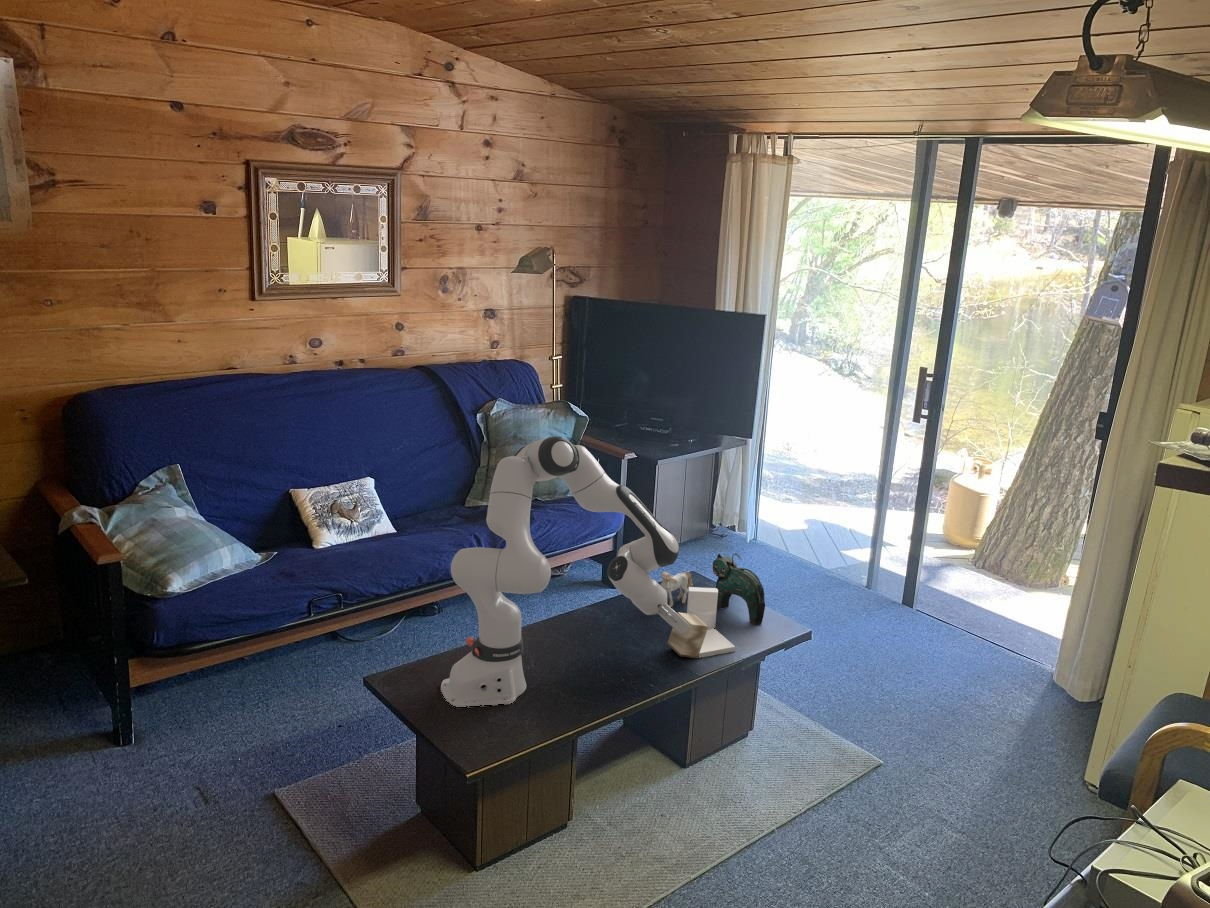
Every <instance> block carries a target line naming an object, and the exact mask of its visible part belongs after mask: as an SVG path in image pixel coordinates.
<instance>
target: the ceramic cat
mask: <svg viewBox="0 0 1210 908" xmlns="http://www.w3.org/2000/svg"><path fill="white" fill-rule="evenodd" d="M731 556H732V557H730V556H722V555H721V554H720V553H718V554H717V556H716V559H714V560H713V562H712V573H713V574H714V575H715V576H716V577H717V580H716V583H715V588H717V589H718V599H717V607H718V608H717V609H719V608H724V609H726V608H728V607H729V606H730V605H729V604H730V598H731V597H732V595H735V596H738V597H740V598H741V599H743V601H744V602H745V603H746V605H747V609H748V617H749V619H748V620H749V624H751V625H753V626H759V625H762V623H763V619H764V617H765V616H764V615H765V610H766V603H765V601H766V600H765V590H764V587H763V584H762V582H761V580H760V578H759V577H758V575H757V574H756V573H755V572H754V571H752V570H750V569H749V568H744V567H739V566H737V563H736V562H735V560H734V556H736V557H737V558H738V559H739V560H740V561H741V560H742V559H741V556H740V555H739V554H738V553H733V554H732V555H731ZM725 607H726V608H725Z"/></svg>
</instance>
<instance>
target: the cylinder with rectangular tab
mask: <svg viewBox="0 0 1210 908" xmlns="http://www.w3.org/2000/svg"><path fill="white" fill-rule="evenodd" d="M717 599H718V589H717V588H716V587H698V586H695V587H694V586H692V587H689V590H688V593H687V606H686V613H687V614H694V615H696V616H697V617H698V618H699V619H700V620H702V621H703V622H704V623H705V624H706V625H707V626H708V630H710V629H714V628H715V629H716V620H717V612H718V611H717V609H718V608H717Z"/></svg>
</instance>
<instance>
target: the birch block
mask: <svg viewBox="0 0 1210 908" xmlns="http://www.w3.org/2000/svg"><path fill="white" fill-rule="evenodd" d="M677 614H678V615H680V616H681V617H682V618H683V619H684V620H685V621H686V622H687V623H688V624H689V628H688V629H687V630H686V632H685V633H684V634H680V633H678V632H677V631H676V630H675V629H674V628H673V627H671V628H672V629H671V631H670V634H669V637H668V640H667V645H668V646H669V647H670V648H671V649H672V650H673V651H674V652H675V653H676V654H677V655H679V657H681V658H682V657H685V658H691V659H692V658H693V659H698V656H699V653H700V650H701V647H702V644H703V641H704V638H705V635H706V632H707V630H708V626H707V625H706V624H705V623H704V622H703V621H702V620H700V619H699V618H698V617H697V616H696V615H694V614H687V612H677Z"/></svg>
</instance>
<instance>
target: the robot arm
mask: <svg viewBox="0 0 1210 908" xmlns="http://www.w3.org/2000/svg"><path fill="white" fill-rule="evenodd" d="M495 468H496V469H495V470H494V471H495V472H494V474H493V477H492V480H491V481H492V482H491V486H490V491H489V497H488V498H489V499H488V504H487V511H486V519H485V520H486V525H487V526H488V528H489V530H490V531H491V532H493V534H495V535H497V536H498V537H500V538H501V539H503V540H505V544H506V545H505V548H496V547H495V548H493V547H482V546H481V547H480V546H476V547H467V548H461V549H459V550H458V551H457V552H456V553H455V554H454V556H453V559H452V561H451V563H450V574H451V577H452V579H453V581H454V582H455V585H457V586H458V587H459V588H461V589H462V590H463V591H464V592H465V593H466V594H467V595H468V596H469V598H470V599H471V601H472V602H473V605H474V607H475V608H476V609H475V610H476V612H477V620H478V621H477V622H478V636H477V639H476V640H475V639H474V638H473V637H472V636H469V637H467V638H466V641H465V642H466V644H467V646H468V647H471V651H470V652H469V653H467V654H466V655H464V656H463V657H462V658H460V660H458V661H457V662H455V663H454V664H453V665H452V667H451V670H450V673H449V677H448V678H445V679H443V680H442V681H441V684H440V692H442V693H441V695H442V694H443V696H444V697H443V696H442V697H443V699H444V698H445V699H446V700H445V699H444V700H445V702H446V701H447V702H449V703H450V704H451V705H453V706H456V707H466V706H468V707H467V708H470V707H469V706H480V705H482V706H480V707H485V706H484V705H492V706H499V705H498V704H504V705H511V703H512V704H514V703H515V702H516V700H517V698H518V697H519V696H521V695H522V694H523V693H524V692H525V691H526V689H527V682H526V679H525V676H524V675H525V674H524V669H523V660H522V658H523V654H524V653H523V652H524V642H523V641H524V640H523V636H522V618H523V616H522V612H521V610H520V608H519V606H518V605H517V604H516V603H515V602H514V601H512V600H510V599H509V598H507V597H506V596H505V595H504V594H503V593H507V594H519V595H528V594H538V593H541V592H543V591H544V590H545V589H546V588H547V587H548V584H549V583H550V580H551V576H552V569H551V565H550V563H549V560H548V559H547V558H546V556H545V555H544V554H543V553H542V552H540V549H538V548H537V546H536V545H535V543H534V540H533V538H532V535H531V530H530V525H531V523H530V521H531V520H530V519H531V508H532V500H533V499H532V498H533V489H534V486H535V484H537V483H539V482H545V481H550V480H551V481H552V480H553V479H556V478H559V479H561V480H562V482H563V483H565V486H567V488H568V490H569V492H570V493H571V495H572V496H573V498H574V499H575V501H576V503H577V504H578V505H579V506H580V507H581V508H583V509H584V510H586V511H588V512H594V513H611V512H612V513H621V514H624V515H626V516H627V517H629V518H630V519H631V521H632V522H634V524H635V525H636V526H637V527H638V528H639V529H640V531H641V532H642V533H643V534H644V536H642V537H640V538H638V539H636V540H633V541H631V542H629V543H626V544H624V545H622V546H620V547H619V548H618V551H617V553H616V557H614V558H613V559H612V560H611V561H610V563H609V565H608V567H607V577H608V579H609V580H610V582H611V583H612V584H613V586H614V587H615V588H616V589H617V590H618V591H619V592H620V593H621V594H622V595H623V596H624V597H626V598H628V599H629V600H630V601H631V602H632V604H633V605H634V606H635V607H637V609H638V610H639V611H641V612H642V613H643V614H644V615H646V616H653V615H659V616H660V617H661V618H662V619H663V620H664V621H665V622H666V623H667V624H668V625H669V626H671V628H674V629H675V630H676V631H677V632H678V633H680V634H684V633H685V632H686V630H687V629H688V628H689V624H688V623H687V622H686V621H685V620H684V619H683V618H682V617H681V616H680V615H678V612H677V611H675V610H674V609H673V607H672V608H671V607H670V606H669V605H670V604H668V592H666V590H665V589H664V588H663V587H661V584H659V583H658V582H657V581H656V580H655V579H653V578H651V577H650V575H649V574H650V573H651V572H653V571H655V570H657V569H660V568H664V567H668V566H671V565H673V564H675V562H676V560H677V558H678V556H679V553H680V545H679V544H680V543H679V541H678V539H677V538H676V536H675V535H674V534H673V533H672V532H671V531H670V530H668V529H667V528H666V527H665V526H664V525H663V524H661V522H660V521H659V519H657V518H656V517H655V515H654V514H653V513H652V512H651V511H650V509H648V508H647V506H646V505H645V504H644V503H643V502H642V501H641V499H640V498H639V497H638V496H637V495H636V494H635V493H634V492H633V491H632V489H630V488H629V487H627V486H625V485H620V484H619V483H616V482H615V481H614V480H613V479H611V477H609V475H608V474H607V473H606V471H605V469H603V467H602V466H601V464H600V463H599V461H598V459H596V458H595V457H594V455H593V454H592V453H591V452H590V451H589V450H588V449H587V448H586V447H585V446H584V445H580V444H576V445H575V444H573V443H572V442H571V441H570V440H569V439H567V438H565V437H562V436H549V437H546V438H543V439H539V440H535V441H532V442H531V443H528V444H527V445H524V446H522V447H521V448H520V449H518V450H517V451H516V452H515V454H514V455H511V456H506V457H503V458H502V459H500V461H499V462H498V463H497V465H496V467H495ZM514 701H515V702H514ZM447 702H446V703H447ZM513 702H514V703H513ZM450 704H449V705H450ZM451 705H450V706H451ZM453 706H452V707H453Z"/></svg>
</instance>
